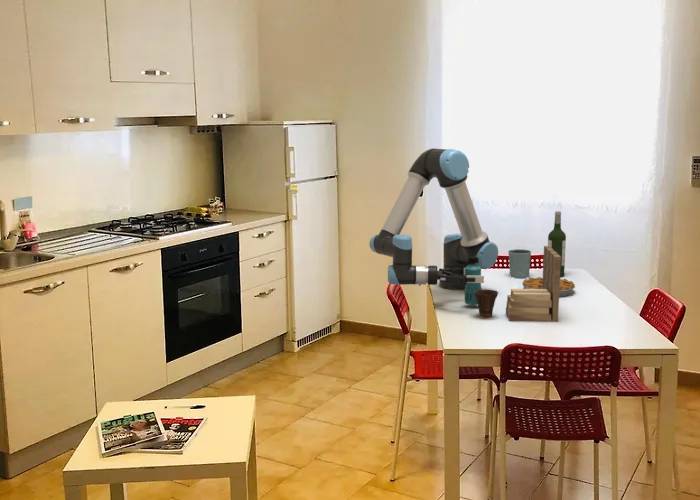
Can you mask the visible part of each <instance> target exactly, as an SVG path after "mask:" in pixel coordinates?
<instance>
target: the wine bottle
mask: <svg viewBox="0 0 700 500" xmlns="http://www.w3.org/2000/svg"><path fill="white" fill-rule="evenodd" d="M553 224H554V225H553V229H552V230H550V232H549V233H548V235H547V246H550V247H551V248H552V249H553V250H554V251H555V252H556V253H557V254H558V255H559V256H561V266H560V278H563V277H565V263H566V247H567V246H566V245H567V244H566V242H567V241H566V240H567V235H566V233H565V232H564V230H562V212H561V211H559V210H558V211H557V210H555V211H554V223H553Z"/></svg>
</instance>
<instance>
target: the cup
mask: <svg viewBox="0 0 700 500" xmlns="http://www.w3.org/2000/svg"><path fill="white" fill-rule="evenodd" d="M474 294H475V296H476V299H477V303H478V305H477V306H478V315H479V317H480V318H492V317H493V311H494V306H495V303H496V299H497V298H498V295H499V292H498V290H494V289H486V288H485V289H483V288H482V289H481V290H476V291H474Z"/></svg>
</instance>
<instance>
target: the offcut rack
mask: <svg viewBox="0 0 700 500" xmlns="http://www.w3.org/2000/svg"><path fill="white" fill-rule="evenodd" d="M542 261H543V263H542V278H543V284H542V289H525V288H510V294H507V295H506V296H507V297H506V306H505V315H506V317H507V319H508V322H559V307H560V306H559V305H560V297H559V288H560V279H561V277H560V266H561V256H559V255H558V254H557V253H556V252H555V251H554V250H553V249H552V248H551V247H550V246H548V245H543V260H542Z"/></svg>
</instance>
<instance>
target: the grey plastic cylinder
mask: <svg viewBox="0 0 700 500" xmlns="http://www.w3.org/2000/svg"><path fill="white" fill-rule="evenodd" d="M531 254H532V251H531V250H530V249H520V248H519V249H518V248H516V249H510V250H508V264H509V266H508V267H509V277H510V276H511V277H510V278H512V277H515V278H514V279H527V278H526V277H528V278H530V267H531Z"/></svg>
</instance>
